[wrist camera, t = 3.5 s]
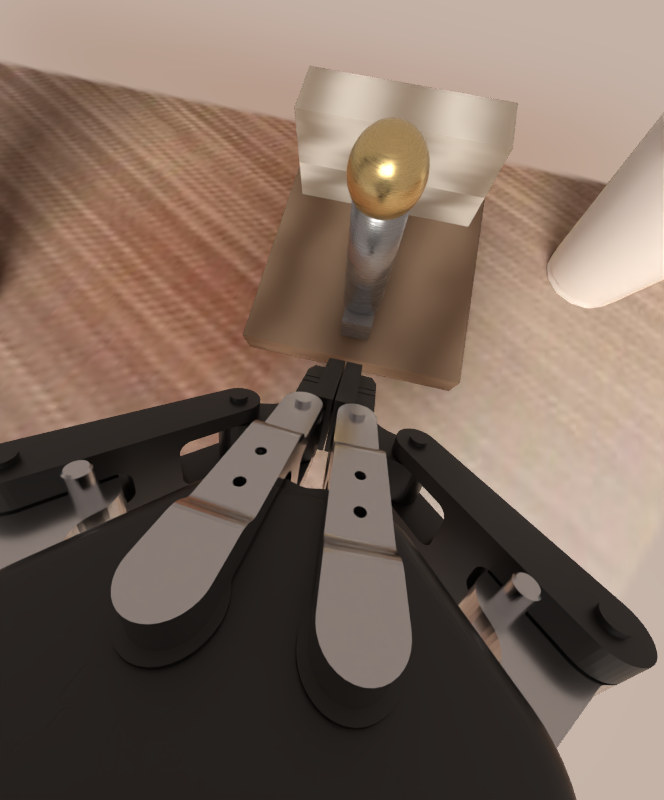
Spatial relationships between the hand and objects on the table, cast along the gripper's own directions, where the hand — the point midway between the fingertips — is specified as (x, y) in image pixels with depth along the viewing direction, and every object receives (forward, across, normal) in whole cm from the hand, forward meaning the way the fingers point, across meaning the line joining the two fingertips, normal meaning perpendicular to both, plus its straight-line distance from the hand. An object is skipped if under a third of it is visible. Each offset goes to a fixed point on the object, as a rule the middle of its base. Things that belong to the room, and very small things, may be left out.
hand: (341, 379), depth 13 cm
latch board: (+16, 0, -3) cm, 16 cm away
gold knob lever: (+12, 0, -2) cm, 12 cm away
